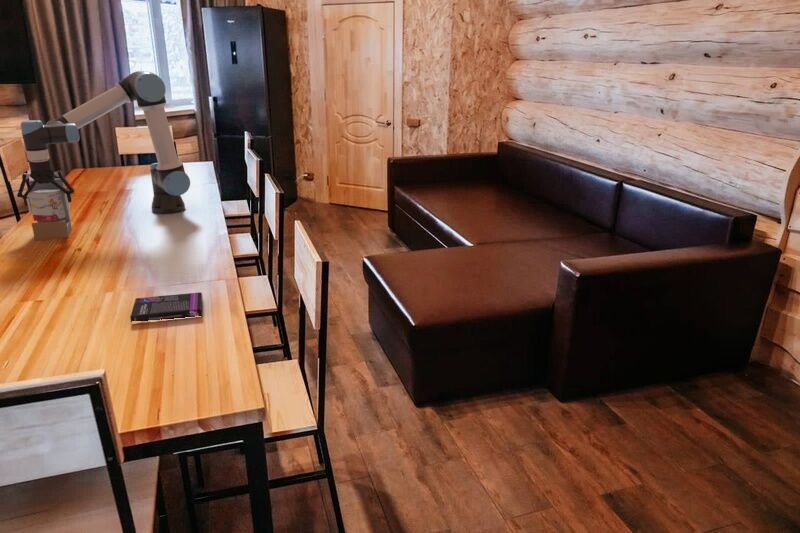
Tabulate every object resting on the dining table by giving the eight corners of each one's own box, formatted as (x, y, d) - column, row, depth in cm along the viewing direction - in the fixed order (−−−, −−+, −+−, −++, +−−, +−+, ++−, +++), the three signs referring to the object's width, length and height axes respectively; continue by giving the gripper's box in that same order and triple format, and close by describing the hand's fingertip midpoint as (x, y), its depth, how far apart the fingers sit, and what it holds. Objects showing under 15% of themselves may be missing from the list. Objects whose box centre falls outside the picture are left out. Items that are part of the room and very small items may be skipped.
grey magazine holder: (71, 228, 250) (62, 178, 242) (68, 237, 239) (58, 185, 231) (39, 231, 246) (29, 180, 238) (35, 240, 234) (23, 187, 227)
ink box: (52, 221, 235) (46, 193, 231) (33, 220, 236) (27, 192, 232) (66, 216, 243) (61, 188, 239) (47, 215, 244) (42, 187, 240)
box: (202, 302, 184) (136, 307, 179) (202, 291, 183) (135, 296, 178) (201, 320, 172) (130, 326, 166) (201, 309, 171) (129, 314, 165)
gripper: (75, 156, 239) (85, 206, 247) (4, 160, 230) (17, 212, 238) (73, 159, 233) (83, 210, 240) (0, 164, 223) (13, 217, 231)
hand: (50, 211), depth 239 cm, fingers open, 13 cm apart
